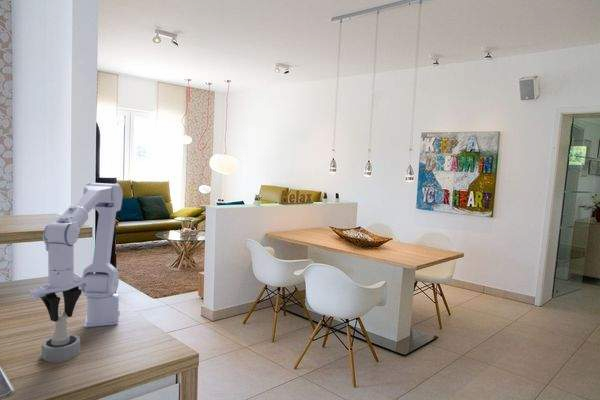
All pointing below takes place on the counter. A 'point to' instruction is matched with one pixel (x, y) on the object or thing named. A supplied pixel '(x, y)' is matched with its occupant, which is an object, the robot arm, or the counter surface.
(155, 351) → the counter surface
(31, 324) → the counter surface
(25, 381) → the counter surface
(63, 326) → the rook chess piece
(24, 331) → the counter surface
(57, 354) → the grey faceted bowl
